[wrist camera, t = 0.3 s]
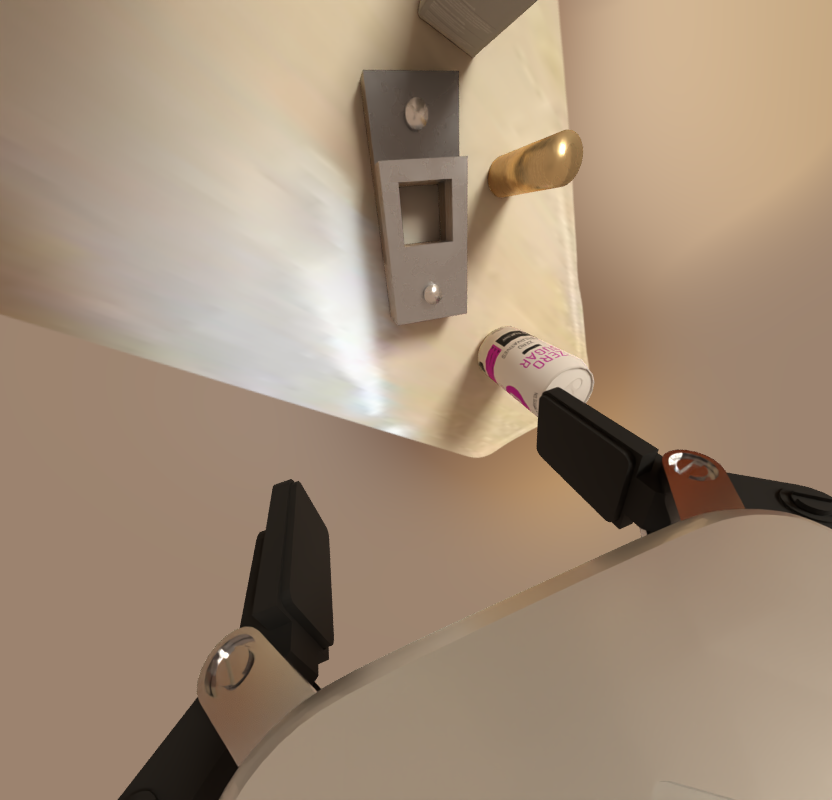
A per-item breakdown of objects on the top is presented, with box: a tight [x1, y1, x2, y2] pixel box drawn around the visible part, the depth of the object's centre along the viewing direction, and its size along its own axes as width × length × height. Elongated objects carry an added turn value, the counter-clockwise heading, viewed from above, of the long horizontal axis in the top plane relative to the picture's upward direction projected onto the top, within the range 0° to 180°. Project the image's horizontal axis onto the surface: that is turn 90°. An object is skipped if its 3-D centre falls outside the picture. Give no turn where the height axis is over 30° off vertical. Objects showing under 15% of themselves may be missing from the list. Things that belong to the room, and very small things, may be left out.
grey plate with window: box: [360, 70, 468, 325], centre depth 32 cm, size 22×9×5 cm, turn 6°
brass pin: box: [488, 130, 583, 197], centre depth 30 cm, size 4×4×10 cm
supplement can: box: [478, 326, 594, 417], centre depth 40 cm, size 8×8×15 cm
